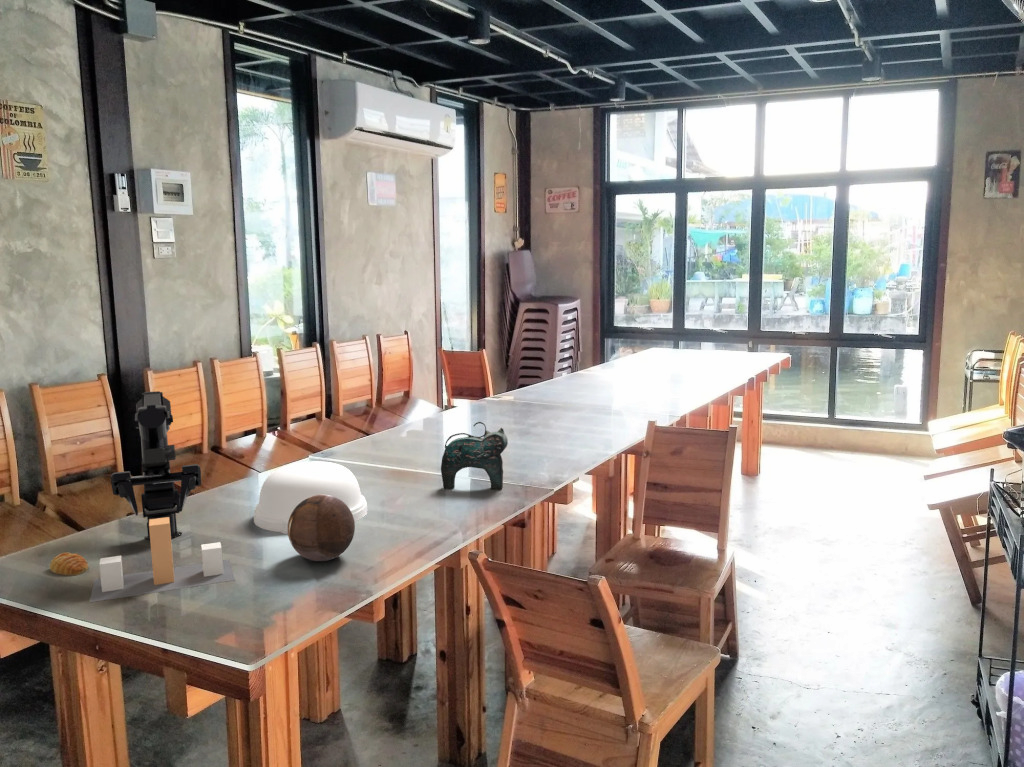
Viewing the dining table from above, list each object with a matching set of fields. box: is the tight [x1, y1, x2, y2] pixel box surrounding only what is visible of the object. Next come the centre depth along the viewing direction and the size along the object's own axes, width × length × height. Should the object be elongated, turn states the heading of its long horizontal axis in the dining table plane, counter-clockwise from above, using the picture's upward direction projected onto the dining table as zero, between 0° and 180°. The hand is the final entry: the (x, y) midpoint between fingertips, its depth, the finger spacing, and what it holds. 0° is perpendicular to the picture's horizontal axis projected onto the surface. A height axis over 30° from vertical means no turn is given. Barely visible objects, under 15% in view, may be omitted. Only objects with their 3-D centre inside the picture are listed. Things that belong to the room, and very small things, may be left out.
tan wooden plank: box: [149, 517, 174, 585], centre depth 184 cm, size 5×4×13 cm
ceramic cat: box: [440, 421, 509, 490], centre depth 254 cm, size 20×6×20 cm, turn 84°
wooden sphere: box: [287, 495, 356, 562], centre depth 196 cm, size 15×15×15 cm
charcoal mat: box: [89, 559, 235, 603], centre depth 185 cm, size 14×28×1 cm, turn 112°
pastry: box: [49, 552, 90, 576], centre depth 192 cm, size 9×7×4 cm
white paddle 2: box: [200, 541, 223, 577], centre depth 188 cm, size 4×4×6 cm
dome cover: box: [253, 460, 368, 535], centre depth 230 cm, size 32×30×14 cm
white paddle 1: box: [98, 555, 124, 592], centre depth 180 cm, size 4×4×6 cm
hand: (159, 511), depth 190 cm, fingers open, 9 cm apart
